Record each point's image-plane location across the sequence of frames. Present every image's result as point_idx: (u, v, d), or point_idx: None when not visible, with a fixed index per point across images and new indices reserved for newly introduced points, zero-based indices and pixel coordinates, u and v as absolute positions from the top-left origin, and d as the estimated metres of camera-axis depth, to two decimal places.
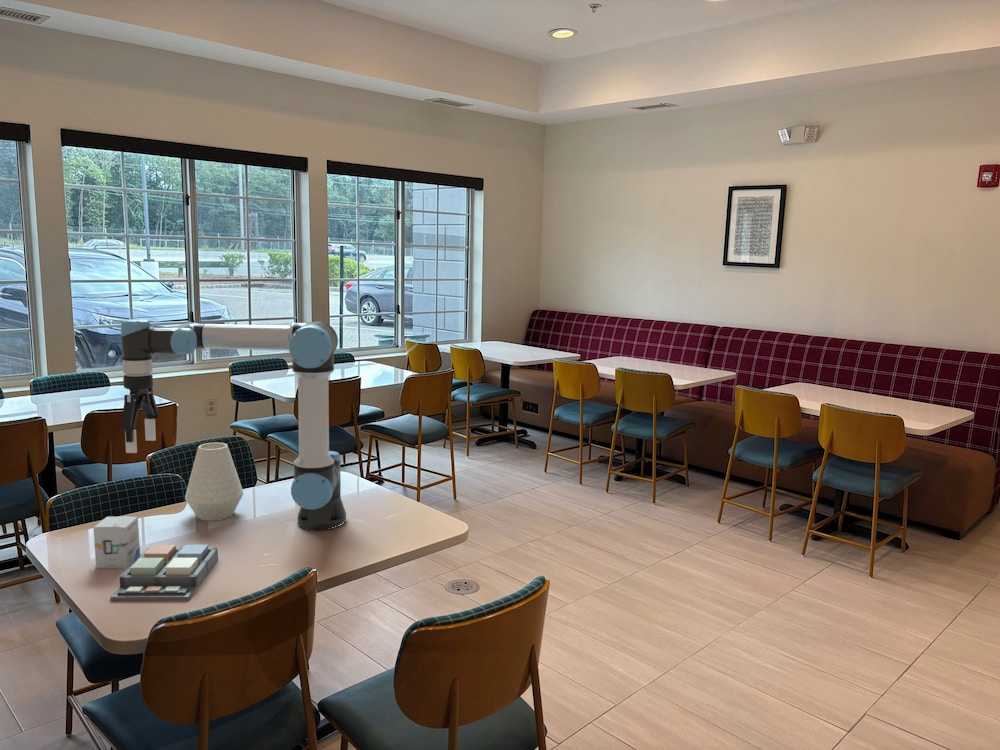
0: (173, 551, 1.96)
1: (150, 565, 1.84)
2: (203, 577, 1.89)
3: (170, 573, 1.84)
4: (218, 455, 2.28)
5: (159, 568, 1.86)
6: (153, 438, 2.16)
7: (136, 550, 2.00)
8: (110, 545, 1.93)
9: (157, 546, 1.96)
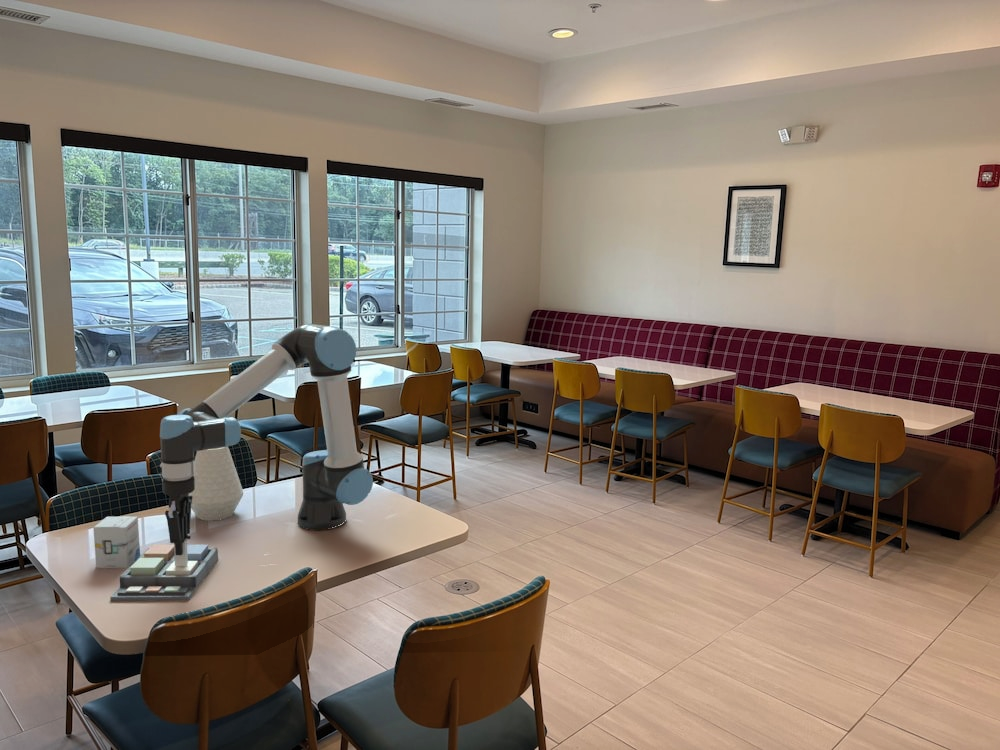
0: (173, 551, 1.96)
1: (150, 565, 1.84)
2: (203, 577, 1.89)
3: None
4: (218, 455, 2.28)
5: (159, 568, 1.86)
6: None
7: (136, 550, 2.00)
8: (110, 545, 1.93)
9: (157, 546, 1.96)
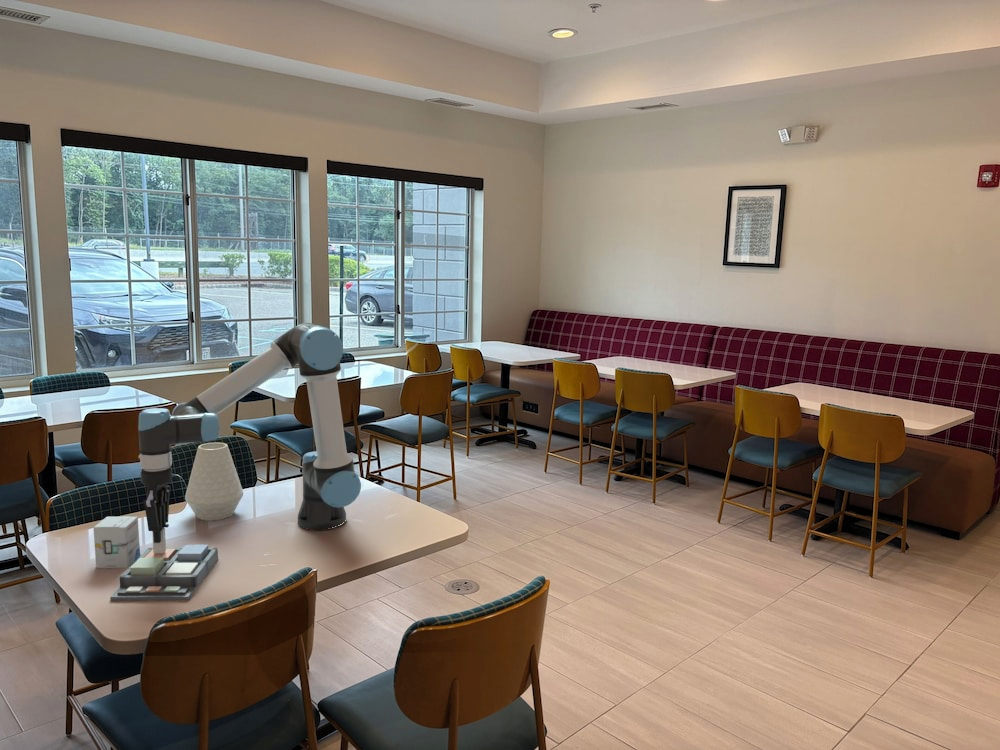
0: (173, 555, 1.96)
1: (150, 565, 1.84)
2: (203, 577, 1.89)
3: None
4: (218, 455, 2.28)
5: (159, 568, 1.86)
6: (163, 550, 1.94)
7: (136, 550, 2.00)
8: (110, 545, 1.93)
9: None
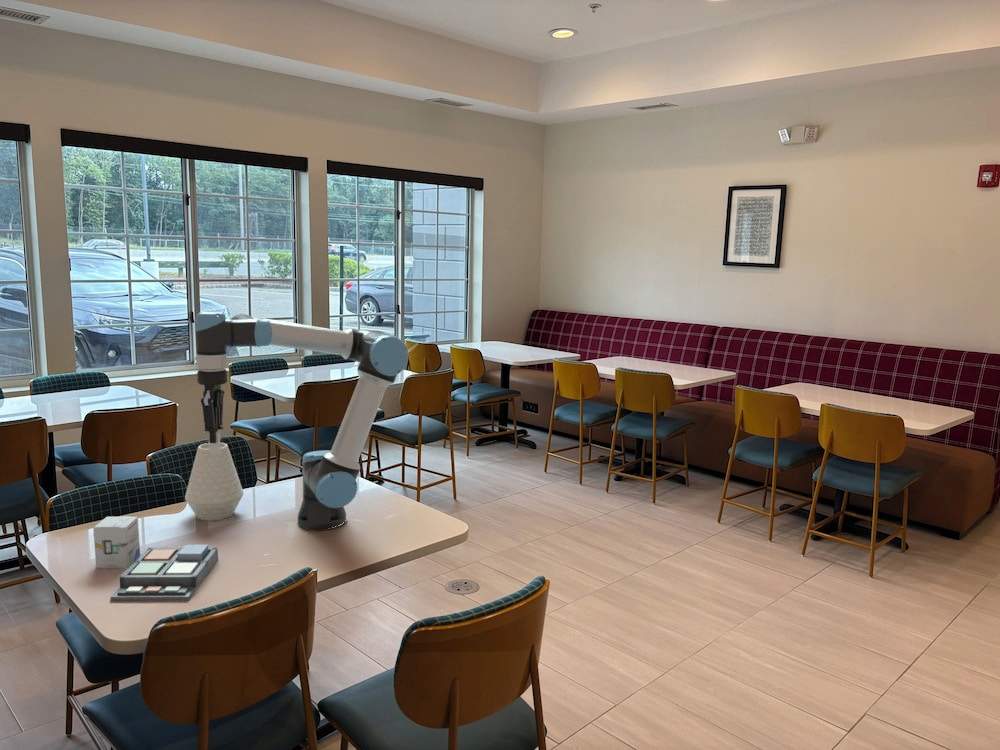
0: None
1: (150, 570, 1.84)
2: (203, 577, 1.89)
3: None
4: (218, 455, 2.28)
5: None
6: (218, 451, 2.00)
7: (136, 550, 2.00)
8: (110, 545, 1.93)
9: (157, 551, 1.96)
